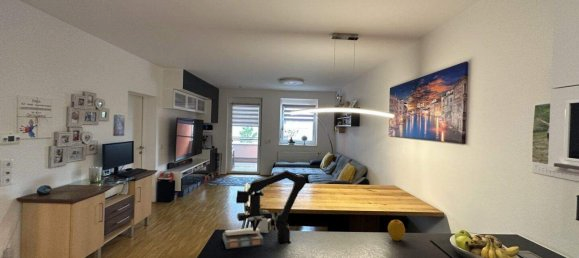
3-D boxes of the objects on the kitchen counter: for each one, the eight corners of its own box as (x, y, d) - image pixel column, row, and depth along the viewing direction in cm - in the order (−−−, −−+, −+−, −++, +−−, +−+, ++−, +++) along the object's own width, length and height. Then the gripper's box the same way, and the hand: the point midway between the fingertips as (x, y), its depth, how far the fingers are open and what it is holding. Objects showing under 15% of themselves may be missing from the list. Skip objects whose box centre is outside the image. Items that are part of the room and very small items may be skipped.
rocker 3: (256, 231, 178) (256, 227, 178) (259, 234, 170) (259, 229, 170) (246, 232, 176) (246, 228, 176) (249, 235, 168) (249, 230, 168)
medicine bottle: (267, 233, 184) (268, 213, 184) (256, 232, 186) (257, 212, 185) (271, 229, 191) (271, 210, 191) (260, 228, 193) (260, 209, 192)
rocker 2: (246, 233, 175) (246, 228, 176) (249, 234, 168) (249, 230, 168) (235, 234, 173) (235, 229, 174) (238, 236, 166) (238, 231, 166)
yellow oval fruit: (390, 235, 186) (391, 216, 186) (406, 239, 181) (407, 219, 180) (385, 239, 178) (385, 220, 178) (402, 244, 173) (402, 223, 173)
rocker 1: (235, 234, 173) (235, 229, 174) (238, 236, 166) (238, 231, 166) (225, 235, 171) (225, 230, 172) (227, 237, 164) (227, 232, 164)
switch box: (257, 235, 180) (257, 229, 180) (263, 244, 166) (263, 238, 166) (222, 239, 173) (222, 232, 173) (226, 249, 160) (226, 242, 159)
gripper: (267, 199, 181) (266, 225, 181) (235, 200, 174) (235, 228, 174) (272, 203, 170) (271, 231, 170) (239, 205, 164) (238, 234, 164)
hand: (254, 231), depth 170 cm, fingers closed, pressing on rocker 3
